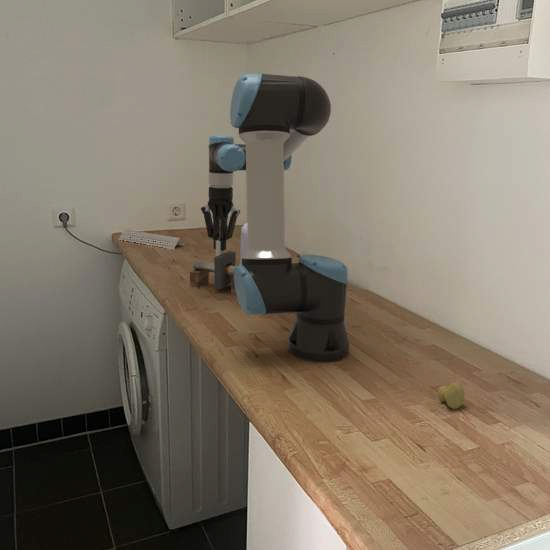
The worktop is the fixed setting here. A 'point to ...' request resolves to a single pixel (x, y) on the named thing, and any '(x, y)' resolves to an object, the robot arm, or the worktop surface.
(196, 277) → the saddles
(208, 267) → the pipe
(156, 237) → the corner bead
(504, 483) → the worktop surface
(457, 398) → the knob
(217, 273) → the collar
